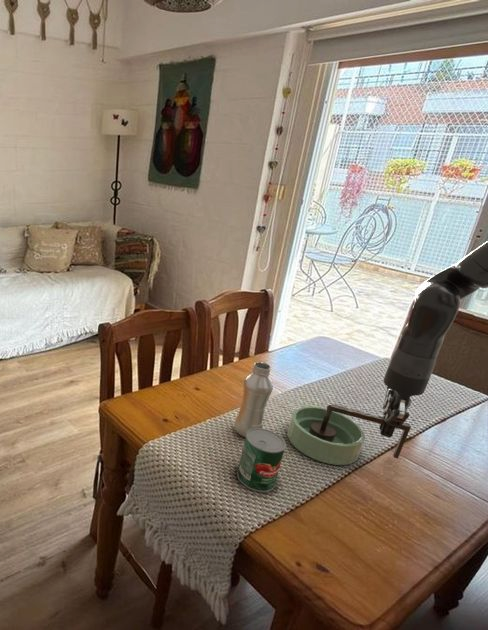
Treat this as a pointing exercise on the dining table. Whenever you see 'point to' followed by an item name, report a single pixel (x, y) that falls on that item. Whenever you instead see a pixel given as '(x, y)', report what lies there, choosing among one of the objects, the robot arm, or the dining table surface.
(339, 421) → the bowl
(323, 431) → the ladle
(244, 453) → the canned tomato
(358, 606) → the dining table surface
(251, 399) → the plastic bottle
